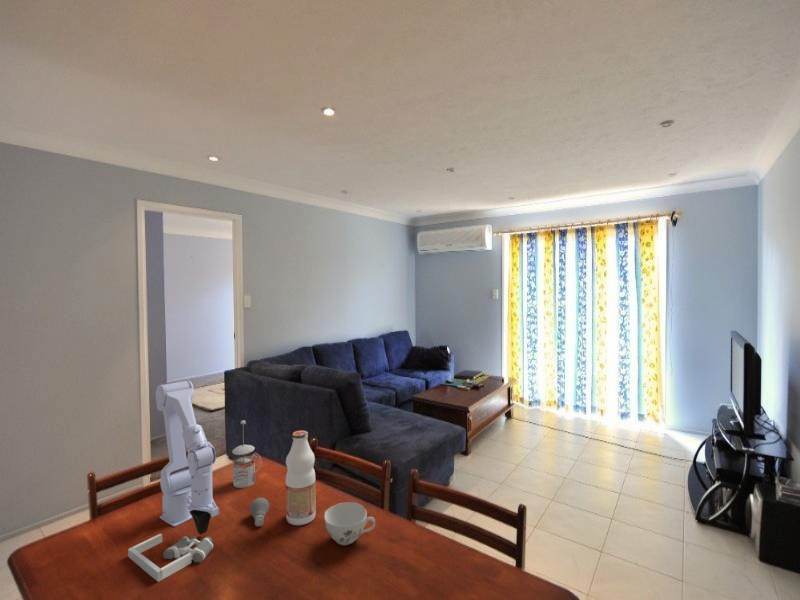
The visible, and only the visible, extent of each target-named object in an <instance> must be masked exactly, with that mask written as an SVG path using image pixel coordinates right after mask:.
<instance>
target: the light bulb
mask: <svg viewBox="0 0 800 600" xmlns="http://www.w3.org/2000/svg"><path fill="white" fill-rule="evenodd" d="M269 509H270V503H269V501H268V500H267V499H266V498H264V497H257V498H255V499H254V500H253V501H252V502H251V503H250V507H249V512H250V514H251V516H252V517H253V519H254V525H255V526H256V527H259V528H260V527H262V526H263V525H264V521H265V517H266V515H267V514H268V512H269Z"/></svg>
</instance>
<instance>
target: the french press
mask: <svg viewBox="0 0 800 600" xmlns="http://www.w3.org/2000/svg"><path fill="white" fill-rule="evenodd" d="M240 425H242V442H243V444H241V445H238V446H236V447H235V448H234V449H233V450H232V451H231V452H232V454H233V455H235V456H241V457H237V458H235V459H234V461H233V465H232V471H233V473H232V477H233V479H232V481H233V483H232V485H233V487H234V488H237V489H244V488H249V487H251V486H253V485H254V484H255V482H256V473H257V472H258V471H259V470H260V469H261V467H262V464H261V463H263V462H262V458H261V456H260V455H259V453H256V452H254V450H256V449H255V446H253V445H251V444H244V443H245V441H244V440H245V439H244V438H245V436H244V427H245V426H244V425H246V420H240ZM251 453H253V454H251ZM247 454H251V456H245V455H247ZM255 454H256V455H255ZM257 456H258V457H257ZM254 457H255V458H256V459H257V460H258V461H257V462H258V468H257V469H256V468H255V467H256V465H255V463H256V462H255V461H254V459H255V458H254ZM259 459H260V460H259ZM255 469H256V470H255Z"/></svg>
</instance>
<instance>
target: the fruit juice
mask: <svg viewBox="0 0 800 600" xmlns="http://www.w3.org/2000/svg"><path fill="white" fill-rule="evenodd" d="M291 436H292V439H293V441H292V444H291V448H290V450H289V451H288V452H289V453H288V454H287V456H286V458H285V465H286V468H287V472H286V475H285V502H286V503H285V512H286V514H285V516H286V522H287V523H288V524H290V525H293V526H303V525H307V524H309V523H311V522H312V521H314V519H315V517H316V514H317V513H316V512H317V507H316V506H317V504H316V503H317V502H316V499H317V497H316V496H317V495H316V472H315V468H314V466H315V460H316V457H315V453H314V452H313V450H312V448H311V447H310V443H309V441H308V438H309V437H308V436H309V432H308V431H306V430H296V431H294V432H293V433H292V435H291Z"/></svg>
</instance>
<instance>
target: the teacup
mask: <svg viewBox="0 0 800 600" xmlns="http://www.w3.org/2000/svg"><path fill="white" fill-rule="evenodd" d="M367 513H368V511H367V510H366V508H365V507H364V506H363V505H362V504H359V503H358V502H351V501H349V502H348V501H347V502H340V503H337V504H335V505H331V506H330V507H329V508H327V509H326V510H325V512H324V517H323V518H324V522H325V528H326V530H327V534H328V535H329V536H330V537H331V538H332V539H333V540H334V541H335V542H336V543H337V544H338V545H341V546H348V545H350V544H353V543H354V542H355V541H356V540H357V539H358V538H359V537H360V536H361V535H362V534H365V533H368V532H371V531H372V530H373V529H374V528H375V526H376V519H375V517H373V516H368V514H367ZM367 516H368V517H367ZM368 522H372V525H371V526H370V527H369V528H368V527H367V528H366V529H365V527H366V525H367V523H368Z"/></svg>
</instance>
